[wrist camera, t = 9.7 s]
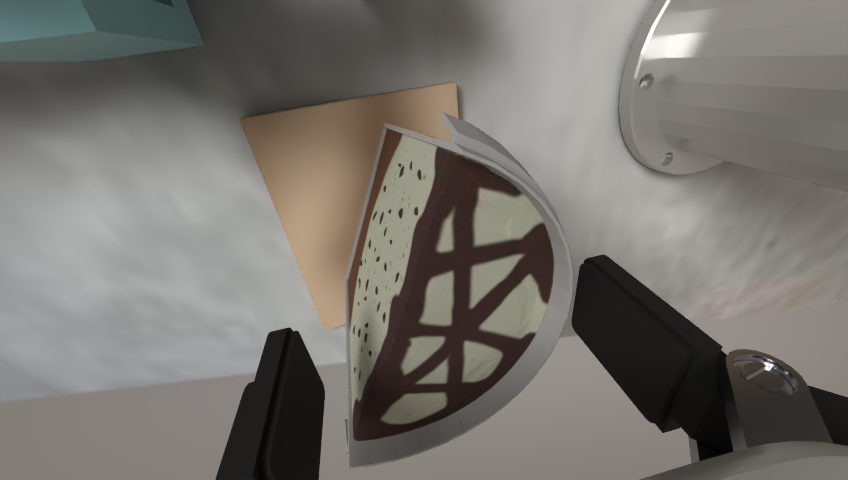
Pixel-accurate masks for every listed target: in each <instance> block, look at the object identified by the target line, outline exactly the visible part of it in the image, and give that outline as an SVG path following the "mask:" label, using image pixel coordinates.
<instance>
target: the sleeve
mask: <svg viewBox="0 0 848 480" xmlns="http://www.w3.org/2000/svg"><path fill="white" fill-rule="evenodd" d="M198 46H205V45H204V43H203V41H202V38H201V36H200V33H199V31H198V28H197V26H196V24H195V21H194V19H193V16H192V14H191V11H190V9H189V6H188V4H187V2H186V0H0V61H63V62H87V61H94V60H102V59H109V58H116V57H124V56H131V55H139V54H146V53H153V52H161V51H168V50H176V49H183V48H190V47H198Z"/></svg>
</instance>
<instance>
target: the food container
mask: <svg viewBox="0 0 848 480" xmlns="http://www.w3.org/2000/svg"><path fill="white" fill-rule="evenodd" d="M441 119H442V120H443V122H444V124H445V125H446V127H447V128H448V130H449V132H450V133H451V135H452V137H453V138H452V141H451V142H448V141H445V140H442V139H438V138H435V137H432V136H429V135H425V134H422V133H419V132H416V131H412V130H409V129H406V128H403V127H399V126H396V125H393V124H390V123H386V122H385V124H384V128H383V132H382V136H381V139H380V143H379V147H378V151H377V155H376V159H375V163H374V167H373V171H372V175H371V179H370V183H369V187H368V191H367V195H366V199H365V203H364V207H363V211H362V215H361V219H360V223H359V227H358V231H357V235H356V239H355V243H354V247H353V250H352V254H351V258H350V262H349V266H348V270H347V274H346V278H345V304H346V359H347V408H348V410H347V413H348V419H345V421H344V428H345V440H346V450H347V454H348V459H349V469H351V468H358V467H367V466H374V465H378V464H383V463H387V462H391V461H396V460H400V459H403V458H406V457H410V456H413V455H416V454H419V453H422V452H424V451H427V450H430V449H432V448H435V447H437V446H440V445H442V444H445V443H446V442H448V441H450V440H452V439H454V438H456V437H458V436H460V435H462V434H464V433H466V432H468V431H469V430H471V429H473V428H474V427H476V426H477V425H479V424H481V423H483V422H484V421H486V420H487V419H488V418H490V417H491V416H492V415H494V414H495V413H497V412H498V411H499V410H501V409H502V408H503V407H504V406H506V405H507V404H508V403H509V402H510V401H511V400H512V399H513V398H514V397H516V396H517V395H518V394H519V393H520V392H521V391H522V390H523V389H524V388H525V387H526V385H527V384H528V383H529V382H530V381H531V380H532V379H533V378H534V376H536V374H537V373H538V372H539V370H540V369H541V367H542V366H543V365H544V363H545V362H546V360H547V359H548V358H549V356H550V354H551V353H552V351H553V349H554V347H555V345H556V343H557V342H558V340H559V338H560V336H561V333H562V330H563V328H564V325H565V322H566V320H567V317H568V313H569V308H570V303H571V298H572V284H573V269H572V264H571V258H570V252H569V247H568V245H567V242H566V240H565V237H564V233H563V230H562V228H561V225H560V223H559V220H558V218H557V215H556V213H555V210H554V208H553V207H552V205H551V204H550V202H549V201H548V199H547V198H546V196H545V194H544V193H543V191H542V190H541V188H540V187H539V185H538V184H537V183H536V182H535V181H534V180H533V178H532V177H531V176H530V175H529V174H528V172H527V171H526V170H525V169H524V168H523V166H522V165H521V164H520V163H519V162H518V161H517V160H516V159H515V158H514V157H513V156H512V155H511V154H510V153H509V152H508V151H507V150H506V149H505V148H504V147H503V146H502V145H501V144H500V143H499V142H497V141H496V140H494V139H493V138H491V137H490V136H488V135H487V134H485V133H484V132H483V131H481V130H480V129H478V128H477V127H475V126H474V125H472V124H470V123H468V122H465V121H463V120H461V119H458V118H456V117H454V116H452V115H449V114H447V113H445V112H443V113H442V116H441Z"/></svg>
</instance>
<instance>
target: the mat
mask: <svg viewBox="0 0 848 480" xmlns="http://www.w3.org/2000/svg"><path fill="white" fill-rule="evenodd" d="M443 112H445V113H447V114H449V115H452V116H454V117H456V118H458V119H459V116H458V102H457V88H456V82H449V83H443V84H437V85H431V86H425V87H419V88H413V89H407V90H401V91H395V92H389V93H383V94H378V95H372V96H366V97H360V98H354V99H348V100H342V101H336V102H330V103H324V104H318V105H312V106H306V107H301V108H295V109H289V110H283V111H277V112H271V113H265V114H259V115H253V116H247V117H242V118H241V119H240V122H241V124H242V127H243V129H244V132H245V134H246V137H247V139H248V142H249V144H250V146H251V149H252V151H253V154H254V156H255V159H256V161H257V164H258V166H259V169H260V171H261V174H262V176H263V179H264V181H265V184H266V186H267V189H268V191H269V194H270V196H271V199H272V201H273V204H274V206H275V209H276V211H277V213H278V216H279V218H280V221H281V223H282V226H283V228H284V231H285V233H286V236H287V238H288V241H289V243H290V246H291V248H292V251H293V253H294V256H295V258H296V261H297V263H298V266H299V268H300V271H301V273H302V276H303V278H304V280H305V283H306V285H307V288H308V290H309V293H310V295H311V298H312V300H313V303H314V305H315V308H316V310H317V313H318V315H319V318H320V320H321V323H322V325H323V328H324V330H327V329H331V328H335V327H338V326H342V325H346V304H345V278H346V274H347V270H348V266H349V262H350V258H351V254H352V250H353V247H354V243H355V239H356V235H357V231H358V227H359V223H360V219H361V215H362V211H363V207H364V203H365V199H366V195H367V191H368V187H369V183H370V179H371V175H372V171H373V167H374V163H375V159H376V155H377V151H378V147H379V143H380V139H381V136H382V132H383V128H384V124H385V122H386V123H390V124H393V125H396V126H399V127H403V128H406V129H409V130H412V131H416V132H419V133H422V134H425V135H429V136H432V137H435V138H438V139H442V140H445V141H448V142H451V141H452V138H453V137H452V135H451V133H450V132H449V130H448V128H447V127H446V125H445V124H444V122H443V120H442V119H441V116H442V113H443Z"/></svg>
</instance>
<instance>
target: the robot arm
mask: <svg viewBox="0 0 848 480" xmlns="http://www.w3.org/2000/svg"><path fill="white" fill-rule="evenodd" d="M619 117H620V125H621V131H622V134H623V137H624V140H625V143H626V146H627V147H628V149H629V150H630V151H631V153H632V154H633V156H634V157H635V158H636V159H637V160H638V161H639V162H641V163H642V164H643V165H644V166H647V167H649V168H652V169H654V170H657V171H659V172H663V173H667V174H671V175H689V174H693V173H697V172H701V171H704V170H707V169H709V168H711V167H714V166H716V165H718V164H720V163H722V162H723V161H727V162H731V163H735V164H739V165H743V166H747V167H751V168H755V169H759V170H763V171H767V172H771V173H775V174H779V175H783V176H787V177H791V178H795V179H799V180H803V181H807V182H811V183H815V184H819V185H823V186H827V187H831V188H835V189H839V190H843V191H847V192H848V0H655V1H654V3H653V4H652V6H651V7H650V9H649V11H648V12H647V14H646V16H645V18H644V20H643V22H642V24H641V26H640V28H639V30H638V32H637V34H636V36H635V38H634V41H633V43H632V46H631V49H630V52H629V55H628V58H627V61H626V64H625V67H624V72H623V77H622V82H621V87H620V99H619ZM572 326H573V329H574V330H575V332H576V333H577V334H578V336H579V337H580V338H581V339H582V340H583V341H584V343H585V344H586V345H587V347H588V348H589V349H590V350H591V352H592V353H593V354H594V355H595V357H596V358H597V359H598V360H599V361H600V363H601V364H602V365H603V366H604V368H605V369H606V370H607V371H608V372H609V374H610V375H611V376H612V377H613V379H614V380H615V381H616V382H617V384H618V385H619V386H620V387H621V388H622V390H623V391H624V392H625V393H626V395H627V396H628V397H629V398H630V400H631V401H632V402H633V403H634V405H635V406H636V407H637V408H638V410H639V411H640V412H641V413H642V414H643V416H644V417H645V418H646V419H647V420H648V421H649V422H651V423H655V424H656V425H657V427H658V428H659V429H660V430H661V431H662V433H664V432H668V431H671V430H675V429H678V428H680V427H681V428H682V429H683V430H684V431H685V432H686V433H687V434H688V436H689V437H688V438H689V446H690V454H691V463H692V464H689V465H685V466H682V467H679V468H675V469H672V470H669V471H666V472H663V473H660V474H656V475H653V476H650V477H646V478H643V479H640V480H848V397H844V396H841V395H838V394H834V393H831V392H828V391H825V390H821V389H818V388H815V387H811V386H808V385H807V384H806V382H805V381H804V379H803V378H802V376H801V375H800V374H799V373H798V372H797V371H795V370H794V369H793V368H792V367H791V366H789V365H787V364H786V363H784V362H783V361H781V360H779V359H777V358H775V357H773V356H771V355H768V354H765V353H762V352H758V351H755V350H748V349H739V350H734V351H732V352H729V354H728V355H726V354H725V353H724V352H723V351H721V349H722V346H721V345H720V344H718V343H717V342H716V341H714V340H713V339H712V338H711V337H709V336H708V335H707V334H706V333H704V332H703V331H702V330H700V329H699V328H698V327H697V326H695V325H694V324H693V323H692V322H690V321H689V320H688V319H687V318H685V317H684V316H683V315H681V314H680V313H679V312H678V311H676V310H675V309H674V308H673V307H671V306H670V305H669V304H667V303H666V302H665V301H664V300H662V299H661V298H660V297H659V296H657V295H656V294H655V293H653V292H652V291H651V290H650V289H648V288H647V287H646V286H644V285H643V284H642V283H641V282H639V281H638V280H637V279H636V278H634V277H633V276H632V275H630V274H629V273H628V272H627V271H625V270H624V269H623V268H622V267H620V266H619V265H618V264H616V263H615V262H614V261H613V260H611V259H610V258H609V257H607V256H606V255H599V256H595V257H591V258H587V259H585V260H584V263H583V264H581V266H580V270H579V276H578V283H577V289H576V296H575V302H574V308H573V315H572ZM324 400H325V390H324V385H323V383H322V380H321V379H320V376H319V374H318V372H317V370H316V368H315V365H314V363H313V361H312V359H311V357H310V355H309V353H308V351H307V348H306V346H305V344H304V342H303V340H302V338H301V336H300V334H299V332H298V331H292V329H291V328H285V329H281V330H276V331H272V332H270V333H269V334H268V336H267V340H266V343H265V346H264V350H263V353H262V356H261V360H260V363H259V367H258V370H257V373H256V377H255V380H254V382H251V383H249V384H248V385H247V386H246V387H245V389H244V392H243V395H242V398H241V401H240V404H239V407H238V411H237V414H236V417H235V420H234V423H233V427H232V429H231V433H230V435H229V439H228V442H227V445H226V448H225V452H224V454H223V458H222V461H221V464H220V467H219V470H218V473H217V476H216V480H318V479H319V465H320V453H321V439H322V426H323V413H324Z"/></svg>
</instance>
